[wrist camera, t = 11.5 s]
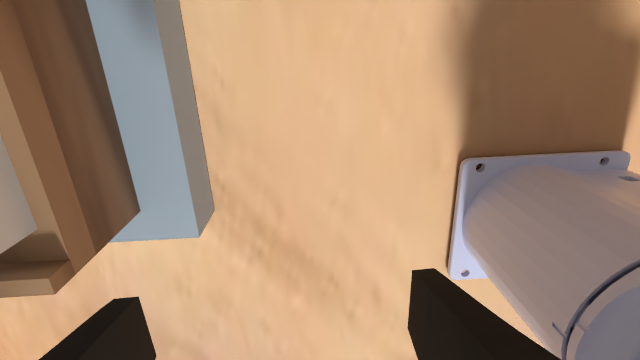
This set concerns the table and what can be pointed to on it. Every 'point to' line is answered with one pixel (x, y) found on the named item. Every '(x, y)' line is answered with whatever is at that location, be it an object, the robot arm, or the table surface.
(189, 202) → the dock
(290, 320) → the table surface
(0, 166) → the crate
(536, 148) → the table surface
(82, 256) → the tan open box
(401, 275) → the table surface
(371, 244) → the table surface
